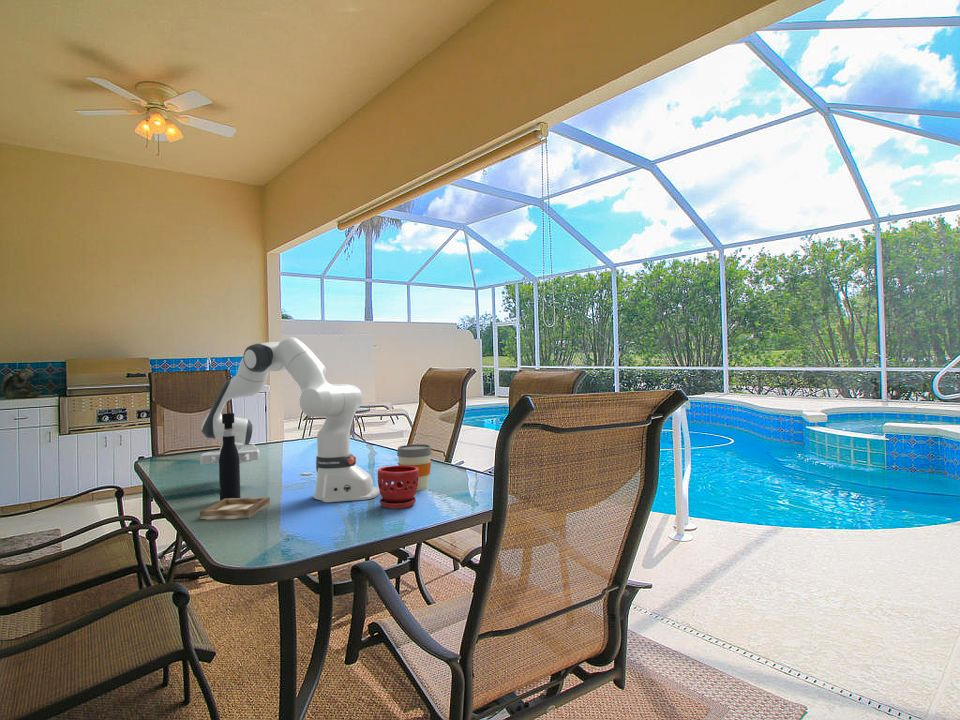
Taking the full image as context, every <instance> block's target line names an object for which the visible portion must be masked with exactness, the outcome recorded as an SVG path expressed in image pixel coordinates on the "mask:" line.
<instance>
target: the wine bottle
mask: <svg viewBox="0 0 960 720" xmlns="http://www.w3.org/2000/svg"><path fill="white" fill-rule="evenodd" d="M221 414H222V424H224V429H225V430H227V431H224V432H223V433H224V434H223V435H224V436H223V439H222V444H223V446H222V445H221V446H222V449H221V452H220V457H219V463H218V475H219V476H218V479H219V501H221V500H223V499H225V498H241V474H240V473H241V469H240V468H241V466H240V465H241V463H240V461H239V454H238V450H237V448H236V445H235V436H234V434H233V430H230V429H234V428H232V423H234V417H235V413H233V412H226V413H221Z"/></svg>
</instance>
